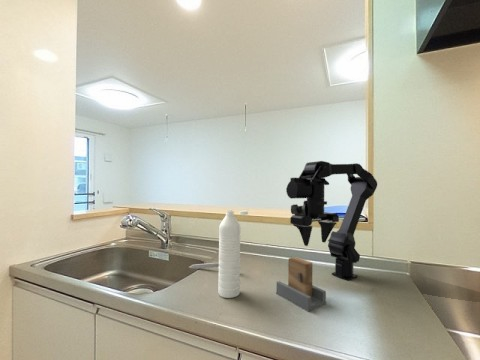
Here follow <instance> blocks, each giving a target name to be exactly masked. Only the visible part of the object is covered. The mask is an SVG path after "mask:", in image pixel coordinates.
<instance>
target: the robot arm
mask: <svg viewBox="0 0 480 360" xmlns="http://www.w3.org/2000/svg"><path fill="white" fill-rule="evenodd" d="M333 175H347V182H348V183H349V184H350V192H351V197H350V201H349V203H348V206H347V209H346V211H345V214H344V215H343V216H344V217H343V219H342V222H341V225H340V227H339V229H338V230H337V231H335V230H334V228H335V226H336V225H337V223H338V222H339V221H340V217H339V215H338V213H337V212H336V213H335V212H334V213H333V212H327V211H325V205H328V201H325V186H329V185H330V182H329V181H328V180H326V178H328V177H330V176H333ZM355 175H357V176H355ZM289 179H290V181H289V182H288V184H287V185H286V186H287V187H286V196H287V197H288V198H289V199H306V200H304V201H303V205H298V204H297V203H296V204H292V205H291V206H290V213H291V216H290V217H289V219H290V220H289V221H290V222H289V223H290V225H291V224H292V225H293V226H294V227H295V228H297V230H298V231H299V233H300V236H301V239H302V242H303V244H304V246H305V247H308V246H309V243H310V239H311V235H312V230H313V225H312V224H313V222H317V223H318V225H319V226H320V233H321V242H322V243H324V244H325V243H326V241H327V242H328V245H327V247H328V250H329V254H330V256H331V257H333V258H335V263H334V264H335V265H334V269H335V271H334V272H331V275H332V276H335V277H338V278H340V279H343V280H346V281H349V280H352V279H355V278H358V274H355V273H354V264H357V263H359V261H360V258H361V255H360V254H359V252H358V250H356V248H355V247H356V240H355V236H354V235H355V232H356V229H357V226H358V224H359V222H360V218H361V215H362V212H363V210H364V208H365V204H366V201H367V200H368V199H369V198H371V197H372V196H373V195H374V194H375V192H376V189H377V188H378V181H377V180H376V178H375V177H374V176H373V174H372V173H371V172H369V171H368V170H366V169H365V168H363V166H362V164H360V163H355V162H354V163H339V164H338V163H337V164H334V163H333V164H332V163H330V162H328V161H323V160H318V161H310V162H306V163H305V165H304V167H303V170H302V172H301V173H300V174H299V176H298V177H290V178H289ZM333 230H334V231H333ZM328 238H329V239H328Z"/></svg>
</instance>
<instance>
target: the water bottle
mask: <svg viewBox="0 0 480 360" xmlns="http://www.w3.org/2000/svg"><path fill="white" fill-rule="evenodd" d="M225 211H226V213H225V216H224V218H223V219H222V220H221V222H220V224H219V228H218V234H219V237H218V242H219V243H218V262H219V267H218V283H217V284H218V286H217V287H218V288H217V291H218V292H217V293H218V295H219V297H222V298H223V299H225V298H226V299H232V298H236V297H238V296H239V295H240V293H241V292H240V291H241V287H240V283H241V278H240V277H241V224H240V223H239V221H238V220H237V217H235V211H234V210H225ZM239 215H243V216H244V215H245V216H246V215H249V210H240V211H239Z"/></svg>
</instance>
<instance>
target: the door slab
mask: <svg viewBox="0 0 480 360" xmlns="http://www.w3.org/2000/svg"><path fill="white" fill-rule="evenodd" d="M287 263H288V264H287V265H288V266H287V267H288V269H287V271H288V273H287V274H288V277H287V278H288V282H287V283H288V284H287V285H288V286H290V287H292V288H294V289H296V290H298V291H300V292H302V293H304V294H306V295H308V296H310V297H311V298H312V285H313V262H311V261H309V260H306V259H303V258H301V257H298V256H292V257H289V258H288V262H287Z"/></svg>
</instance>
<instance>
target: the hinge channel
mask: <svg viewBox="0 0 480 360" xmlns="http://www.w3.org/2000/svg"><path fill="white" fill-rule="evenodd" d="M275 291H276V295H278V296H280V297H282V298H283V299H285V300H287V301H289V302H291V303H292V304H294V305H296V306H297V307H299V308H301V309H302V310H304V311H306V312H310V311H313V310H315V309H318V308H319V307H321V306H324V305H326V303H327V302H326V301H327V299H326V298H327V293H326V290H323V289H322V288H320V287H317V286H315V285H313V284H312V298H311V297H310V296H308V295H306V294H304V293H302V292H300V291H298V290H296V289H294V288H292V287H290V286H288V284H286V283H284V282H282V281H281V280H277V281H276V290H275Z"/></svg>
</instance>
